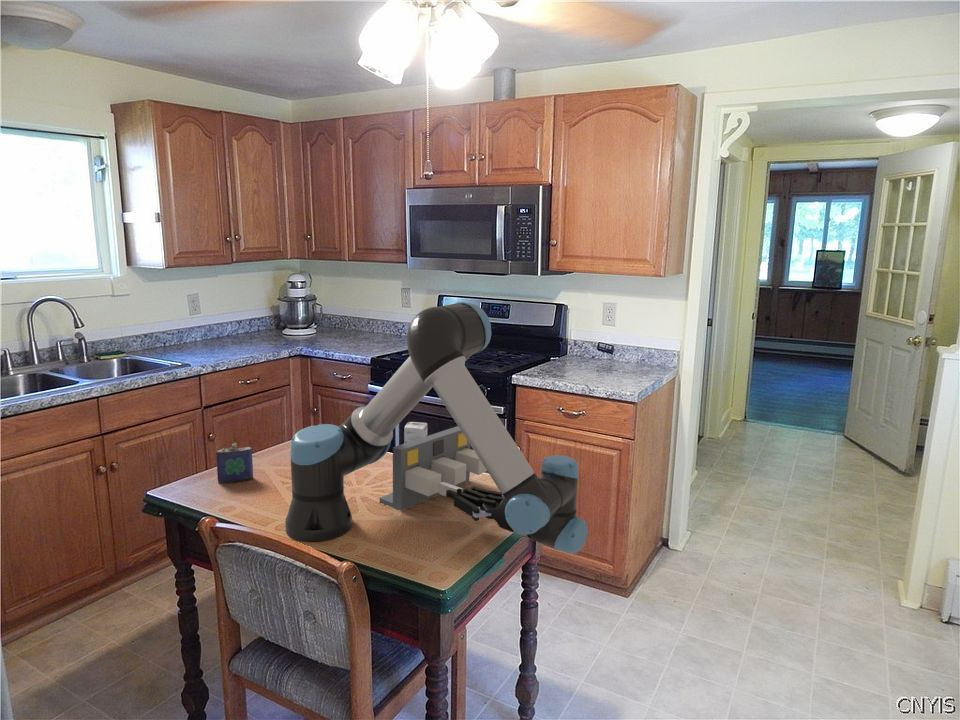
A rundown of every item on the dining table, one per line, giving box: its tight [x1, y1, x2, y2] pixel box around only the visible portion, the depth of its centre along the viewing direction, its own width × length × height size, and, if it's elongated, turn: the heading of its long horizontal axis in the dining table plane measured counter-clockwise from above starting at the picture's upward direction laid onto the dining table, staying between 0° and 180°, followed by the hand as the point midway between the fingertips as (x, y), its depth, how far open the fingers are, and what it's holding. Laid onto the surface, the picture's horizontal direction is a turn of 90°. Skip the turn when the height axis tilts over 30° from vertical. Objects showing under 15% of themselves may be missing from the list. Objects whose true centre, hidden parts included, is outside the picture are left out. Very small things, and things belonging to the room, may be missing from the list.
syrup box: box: [403, 421, 428, 444], centre depth 183 cm, size 6×6×14 cm
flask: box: [215, 442, 254, 484], centre depth 174 cm, size 9×3×11 cm, turn 114°
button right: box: [455, 448, 488, 476], centre depth 172 cm, size 4×10×4 cm, turn 51°
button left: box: [404, 466, 441, 496], centre depth 158 cm, size 4×10×4 cm, turn 51°
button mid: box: [431, 456, 466, 485], centre depth 165 cm, size 4×10×4 cm, turn 51°
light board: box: [378, 425, 471, 512], centre depth 169 cm, size 26×8×16 cm, turn 141°
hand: (440, 487), depth 154 cm, fingers closed
